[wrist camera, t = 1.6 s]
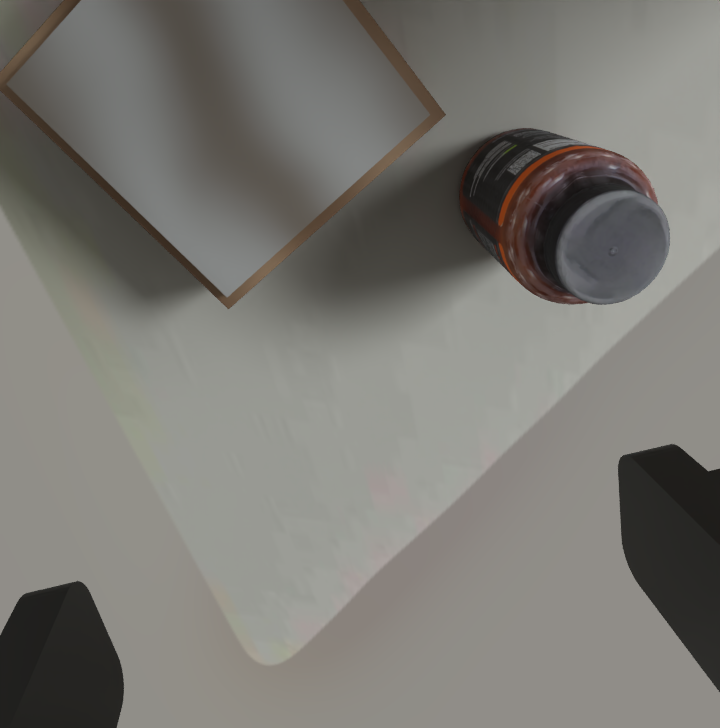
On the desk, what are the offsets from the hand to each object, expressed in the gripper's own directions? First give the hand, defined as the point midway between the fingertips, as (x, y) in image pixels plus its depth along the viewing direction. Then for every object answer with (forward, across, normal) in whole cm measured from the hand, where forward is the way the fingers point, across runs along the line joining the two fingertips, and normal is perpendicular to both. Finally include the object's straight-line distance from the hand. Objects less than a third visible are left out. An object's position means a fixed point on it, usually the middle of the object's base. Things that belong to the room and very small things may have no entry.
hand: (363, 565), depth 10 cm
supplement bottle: (+24, -11, 0) cm, 27 cm away
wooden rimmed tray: (+24, +1, -7) cm, 26 cm away
